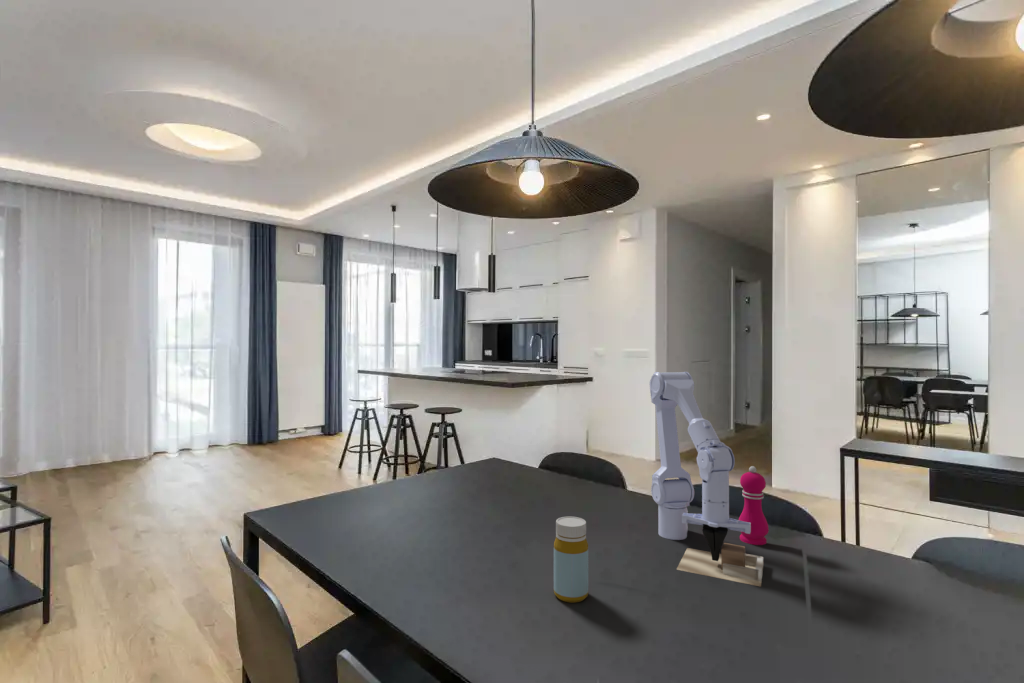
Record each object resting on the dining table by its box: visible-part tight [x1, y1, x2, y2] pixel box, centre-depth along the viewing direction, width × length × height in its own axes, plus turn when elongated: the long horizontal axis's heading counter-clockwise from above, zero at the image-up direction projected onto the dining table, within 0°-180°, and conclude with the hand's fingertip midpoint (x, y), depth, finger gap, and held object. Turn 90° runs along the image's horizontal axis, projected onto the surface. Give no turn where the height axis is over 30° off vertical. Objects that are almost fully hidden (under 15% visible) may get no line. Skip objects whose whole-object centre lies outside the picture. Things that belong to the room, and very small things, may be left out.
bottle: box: [553, 516, 589, 603], centre depth 104 cm, size 7×7×15 cm
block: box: [720, 542, 746, 570], centre depth 115 cm, size 4×4×4 cm
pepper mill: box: [738, 465, 770, 546], centre depth 132 cm, size 7×7×20 cm
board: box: [676, 547, 765, 588], centre depth 116 cm, size 14×17×3 cm
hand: (715, 559), depth 117 cm, fingers closed
